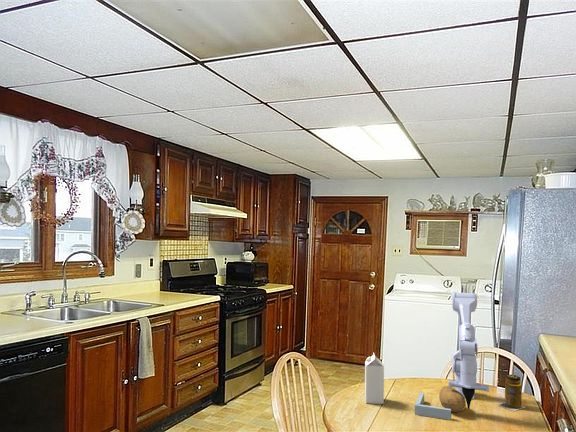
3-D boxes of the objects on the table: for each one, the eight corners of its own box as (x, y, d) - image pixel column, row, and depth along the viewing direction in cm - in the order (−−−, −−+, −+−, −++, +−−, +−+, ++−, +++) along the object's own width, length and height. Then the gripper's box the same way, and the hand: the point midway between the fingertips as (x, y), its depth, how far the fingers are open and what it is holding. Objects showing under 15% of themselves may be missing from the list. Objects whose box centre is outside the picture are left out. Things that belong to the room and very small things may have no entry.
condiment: (526, 407, 186) (526, 377, 187) (514, 411, 182) (514, 380, 182) (509, 401, 193) (508, 372, 193) (497, 405, 188) (496, 375, 188)
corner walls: (420, 400, 192) (420, 392, 192) (453, 405, 187) (453, 396, 187) (414, 414, 177) (414, 405, 178) (450, 420, 172) (450, 410, 173)
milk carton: (381, 398, 195) (382, 352, 196) (383, 404, 188) (383, 356, 189) (364, 397, 196) (365, 351, 196) (365, 403, 188) (366, 356, 189)
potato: (446, 417, 175) (445, 396, 175) (434, 404, 189) (434, 384, 189) (472, 417, 175) (471, 395, 175) (458, 403, 189) (458, 384, 189)
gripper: (447, 372, 179) (448, 408, 179) (488, 377, 174) (489, 414, 173) (449, 367, 186) (449, 402, 185) (488, 372, 180) (488, 408, 179)
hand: (468, 407), depth 179 cm, fingers closed
